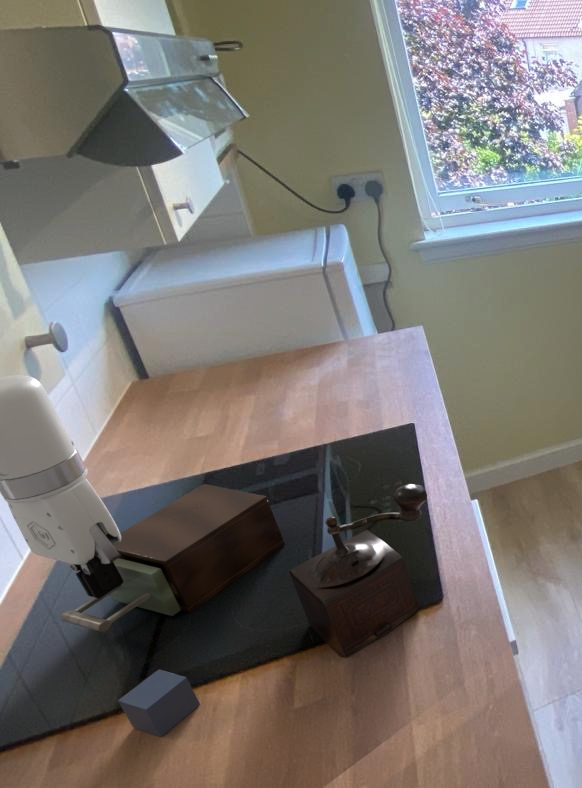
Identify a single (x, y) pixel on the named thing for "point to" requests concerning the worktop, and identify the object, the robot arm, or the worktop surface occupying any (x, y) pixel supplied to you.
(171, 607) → the drawer
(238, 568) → the cabinet
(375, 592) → the manual coffee grinder
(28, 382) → the robot arm
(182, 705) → the block
